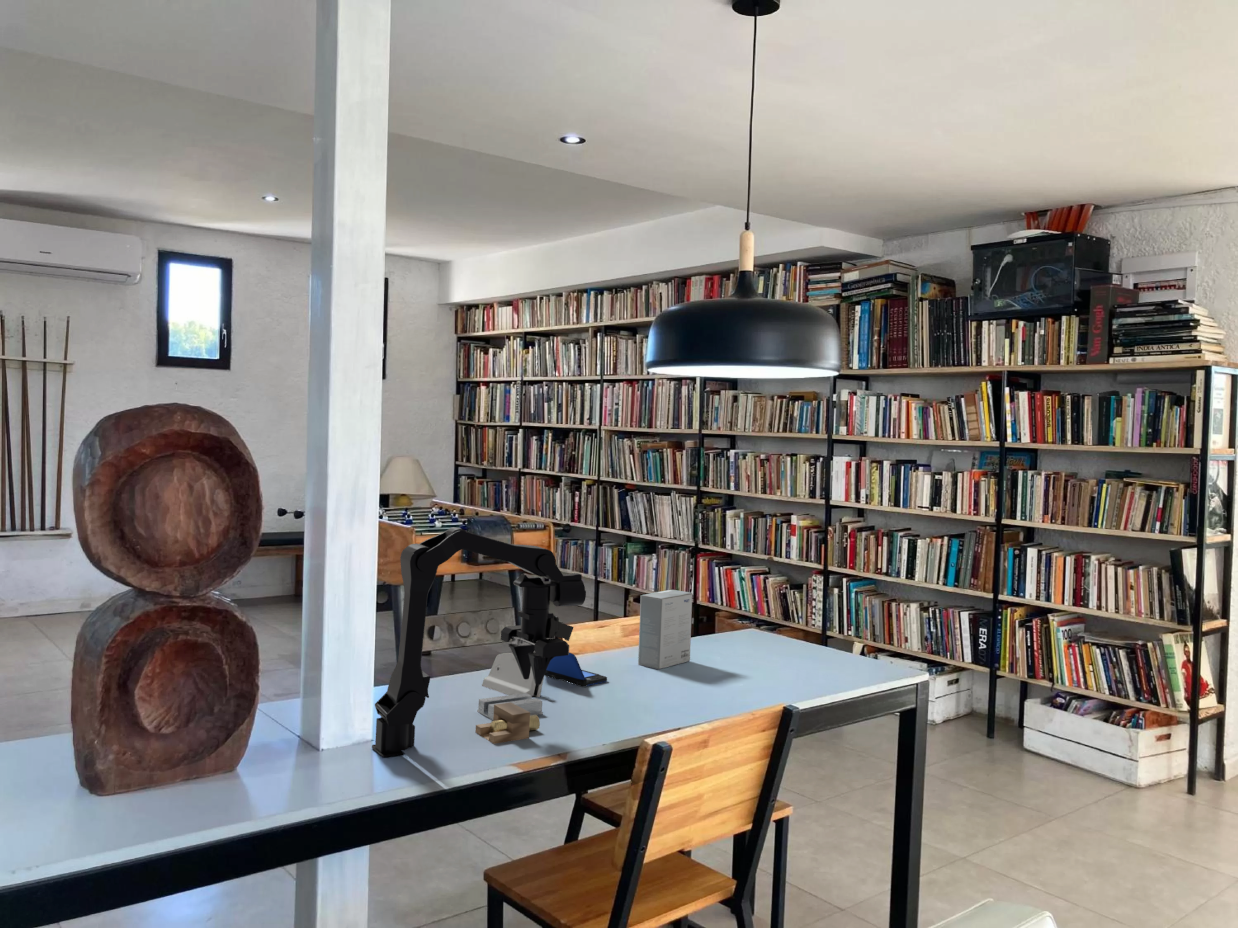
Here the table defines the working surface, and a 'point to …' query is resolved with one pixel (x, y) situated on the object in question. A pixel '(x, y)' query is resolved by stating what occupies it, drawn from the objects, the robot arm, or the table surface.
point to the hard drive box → (665, 628)
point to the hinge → (510, 677)
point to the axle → (502, 724)
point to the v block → (518, 699)
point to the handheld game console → (572, 671)
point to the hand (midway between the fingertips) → (532, 681)
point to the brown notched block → (515, 724)
